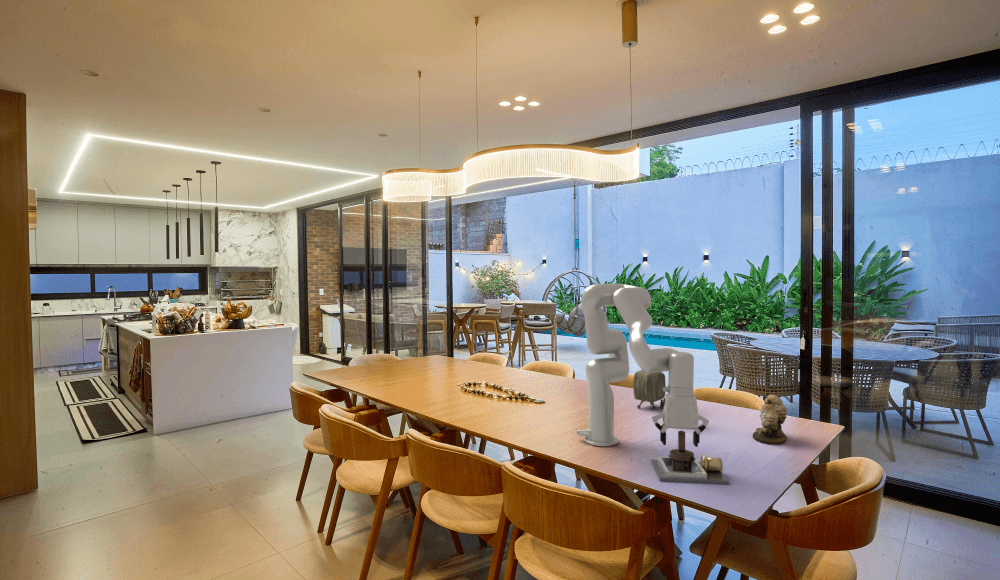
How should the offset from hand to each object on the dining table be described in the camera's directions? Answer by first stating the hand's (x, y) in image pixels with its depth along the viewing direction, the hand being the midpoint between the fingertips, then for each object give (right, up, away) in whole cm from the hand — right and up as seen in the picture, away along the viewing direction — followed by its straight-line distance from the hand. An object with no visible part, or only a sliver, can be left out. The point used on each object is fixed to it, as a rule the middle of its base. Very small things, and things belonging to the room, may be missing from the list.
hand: (679, 444), depth 160 cm
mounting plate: (+2, -9, -1) cm, 9 cm away
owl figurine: (+47, -8, +35) cm, 59 cm away
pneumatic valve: (+18, -8, +55) cm, 58 cm away
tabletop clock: (+16, -8, +83) cm, 85 cm away
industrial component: (0, -8, 0) cm, 8 cm away
